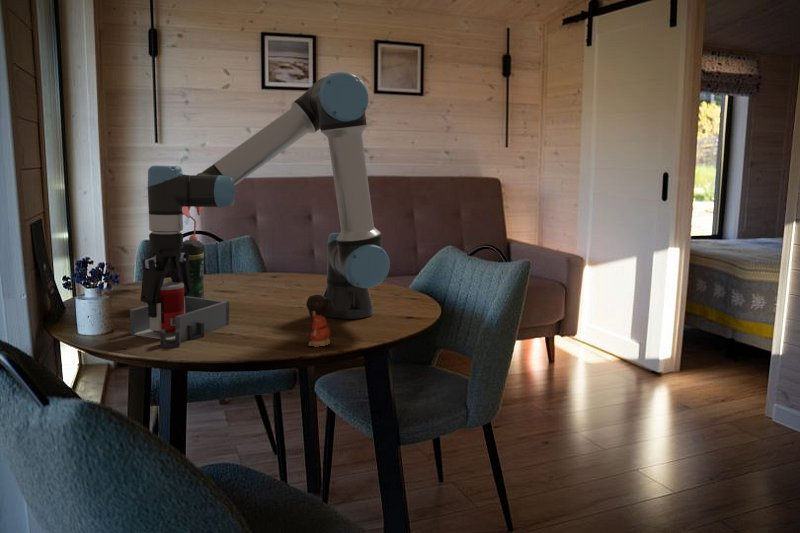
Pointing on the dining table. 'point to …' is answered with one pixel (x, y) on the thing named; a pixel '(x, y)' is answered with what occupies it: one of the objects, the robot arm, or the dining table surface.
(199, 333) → the clip
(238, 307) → the dining table surface
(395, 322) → the dining table surface
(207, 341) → the dining table surface
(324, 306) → the figurine
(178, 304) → the canned food
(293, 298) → the dining table surface
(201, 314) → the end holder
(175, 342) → the clip
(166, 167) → the robot arm
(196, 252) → the coffee jar
